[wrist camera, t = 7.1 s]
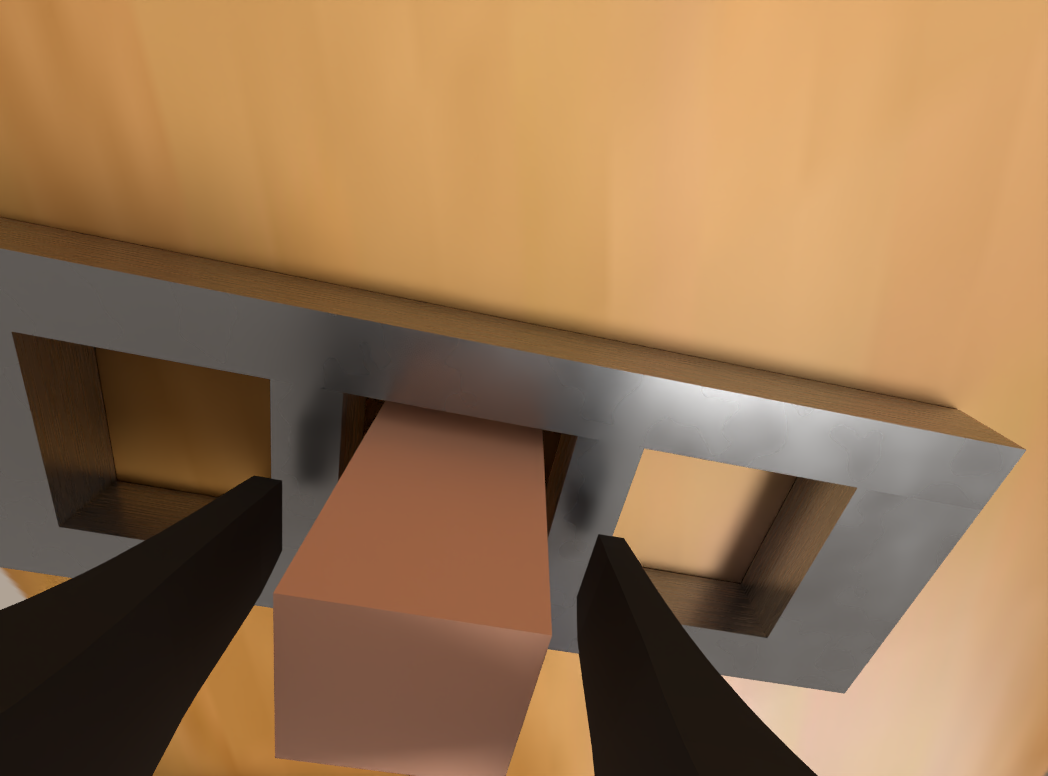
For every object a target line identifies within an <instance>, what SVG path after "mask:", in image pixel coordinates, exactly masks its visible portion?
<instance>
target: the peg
mask: <svg viewBox="0 0 1048 776" xmlns="http://www.w3.org/2000/svg"><path fill="white" fill-rule="evenodd" d="M273 622H274V701H275V758H281V759H289V760H296V761H304V762H312V763H320V764H328V765H336V766H344V767H351V768H359V769H367V770H375V771H383V772H391V773H398V774H406V775H414V776H506V773H507V770H508V767H509V764H510V761H511V758H512V755H513V752H514V749H515V746H516V743H517V740H518V737H519V734H520V731H521V728H522V725H523V722H524V719H525V716H526V713H527V710H528V707H529V704H530V701H531V698H532V695H533V692H534V689H535V686H536V683H537V680H538V677H539V674H540V671H541V668H542V664H543V661H544V658H545V655H546V652H547V649H548V646H549V643H550V640H551V637H552V623H551V601H550V580H549V559H548V537H547V516H546V494H545V473H544V452H543V430H542V429H537V428H532V427H526V426H521V425H515V424H510V423H505V422H499V421H494V420H488V419H483V418H477V417H472V416H467V415H461V414H456V413H450V412H445V411H440V410H434V409H429V408H423V407H418V406H412V405H407V404H402V403H396V402H391V401H385V402H384V404H383V406H382V407H381V409H380V411H379V413H378V414H377V416H376V418H375V419H374V421H373V423H372V425H371V426H370V428H369V430H368V431H367V433H366V435H365V436H364V438H363V440H362V442H361V443H360V445H359V447H358V448H357V450H356V452H355V454H354V455H353V457H352V459H351V460H350V462H349V464H348V466H347V467H346V469H345V471H344V472H343V474H342V476H341V478H340V479H339V481H338V483H337V484H336V486H335V488H334V490H333V491H332V493H331V495H330V496H329V498H328V500H327V502H326V503H325V505H324V507H323V508H322V510H321V512H320V514H319V515H318V517H317V519H316V520H315V522H314V524H313V526H312V527H311V529H310V531H309V532H308V534H307V536H306V538H305V539H304V541H303V543H302V544H301V546H300V548H299V550H298V551H297V553H296V555H295V556H294V558H293V560H292V562H291V563H290V565H289V567H288V568H287V570H286V572H285V574H284V575H283V577H282V579H281V580H280V582H279V584H278V586H277V587H276V589H275V591H274V592H273Z"/></svg>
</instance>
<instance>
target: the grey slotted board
mask: <svg viewBox="0 0 1048 776" xmlns="http://www.w3.org/2000/svg"><path fill="white" fill-rule="evenodd" d="M94 347H98V348H104V349H109V350H114V351H120V352H125V353H131V354H136V355H141V356H147V357H152V358H158V359H163V360H169V361H174V362H179V363H185V364H190V365H196V366H201V367H207V368H212V369H217V370H223V371H228V372H234V373H239V374H244V375H250V376H255V377H261V378H266V379H270V408H271V479H277V480H282V552H281V554H280V556H279V559H278V561H277V563H276V565H275V567H274V569H273V571H272V573H271V575H270V577H269V579H268V581H267V583H266V585H265V587H264V589H263V591H262V593H261V595H260V597H259V598H258V600H257V601H256V603H255V605H257V606H264V607H270V608H273V592H274V591H275V589H276V587H277V586H278V584H279V582H280V580H281V579H282V577H283V575H284V574H285V572H286V570H287V568H288V567H289V565H290V563H291V562H292V560H293V558H294V556H295V555H296V553H297V551H298V550H299V548H300V546H301V544H302V543H303V541H304V539H305V538H306V536H307V534H308V532H309V531H310V529H311V527H312V526H313V524H314V522H315V520H316V519H317V517H318V515H319V514H320V512H321V510H322V508H323V507H324V505H325V503H326V502H327V500H328V498H329V496H330V495H331V493H332V491H333V490H334V488H335V486H336V484H337V483H338V481H339V479H340V478H341V476H342V474H343V472H344V471H345V469H346V467H347V466H348V464H349V462H350V460H351V459H352V457H353V455H354V454H355V452H356V450H357V448H358V447H359V445H360V443H361V442H362V440H363V430H364V417H365V404H366V397H369V398H374V399H380V400H385V401H391V402H396V403H402V404H407V405H412V406H418V407H423V408H429V409H434V410H440V411H445V412H450V413H456V414H461V415H467V416H472V417H477V418H483V419H488V420H494V421H499V422H505V423H510V424H515V425H521V426H526V427H532V428H537V429H542V430H548V431H553V432H559V433H561V437H560V440H559V444H558V448H557V451H556V455H555V458H554V462H553V466H552V469H551V473H550V477H549V480H548V484H547V488H546V491H545V494H546V516H547V537H548V559H549V580H550V601H551V623H552V637H551V640H550V643H549V646H548V649H551V650H558V651H564V652H571V653H578V654H579V650H578V642H577V594H578V592H579V589H580V586H581V583H582V580H583V577H584V574H585V571H586V568H587V566H588V563H589V560H590V557H591V554H592V551H593V548H594V545H595V542H596V540H597V537H598V534H601V535H607V536H612V535H613V533H614V530H615V527H616V524H617V522H618V519H619V516H620V513H621V511H622V508H623V505H624V502H625V500H626V497H627V494H628V491H629V489H630V486H631V483H632V480H633V478H634V475H635V472H636V469H637V466H638V464H639V461H640V458H641V455H642V453H643V450H644V448H645V449H651V450H656V451H662V452H667V453H673V454H678V455H683V456H689V457H694V458H700V459H705V460H710V461H716V462H721V463H727V464H732V465H738V466H743V467H748V468H754V469H759V470H765V471H770V472H775V473H781V474H786V475H792V476H797V479H796V481H795V483H794V485H793V487H792V489H791V490H790V492H789V494H788V496H787V498H786V500H785V502H784V504H783V505H782V507H781V509H780V511H779V513H778V515H777V517H776V519H775V521H774V522H773V524H772V526H771V528H770V530H769V532H768V534H767V536H766V537H765V539H764V541H763V543H762V545H761V547H760V549H759V551H758V553H757V554H756V556H755V558H754V560H753V562H752V564H751V566H750V568H749V569H748V571H747V573H746V575H745V577H744V579H743V581H742V583H741V584H738V583H732V582H726V581H720V580H714V579H708V578H702V577H696V576H690V575H684V574H678V573H672V572H666V571H659V570H653V569H647V568H643V569H644V570H645V572H646V573H647V575H648V576H649V578H650V580H651V581H652V583H653V584H654V586H655V587H656V589H657V590H658V592H659V593H660V595H661V596H662V598H663V599H664V601H665V602H666V604H667V605H668V606H669V608H670V609H671V611H672V612H673V614H674V615H675V616H676V618H677V619H678V621H679V622H680V624H681V625H682V626H683V628H684V629H685V630H686V632H687V633H688V634H689V636H690V637H691V638H692V640H693V641H694V642H695V643H696V645H697V646H698V647H699V649H700V650H701V651H702V653H703V654H704V655H705V656H706V658H707V659H708V660H709V662H710V663H711V664H712V665H713V666H714V668H715V669H716V670H717V671H718V672H719V674H720V675H725V676H731V677H738V678H745V679H751V680H758V681H765V682H772V683H778V684H785V685H792V686H798V687H805V688H812V689H818V690H825V691H832V692H838V693H845V692H846V691H847V690H848V688H849V687H850V685H851V684H852V683H853V681H854V680H855V679H856V677H857V676H858V675H859V673H860V672H861V671H862V669H863V668H864V667H865V665H866V664H867V663H868V661H869V660H870V659H871V657H872V656H873V655H874V653H875V652H876V651H877V649H878V648H879V647H880V645H881V644H882V643H883V641H884V640H885V639H886V637H887V636H888V635H889V633H890V632H891V631H892V629H893V628H894V627H895V625H896V624H897V623H898V621H899V620H900V619H901V617H902V616H903V615H904V613H905V612H906V611H907V609H908V608H909V606H910V605H911V604H912V602H913V601H914V600H915V598H916V597H917V596H918V594H919V593H920V592H921V590H922V589H923V588H924V586H925V585H926V584H927V582H928V581H929V580H930V578H931V577H932V576H933V574H934V573H935V572H936V570H937V569H938V568H939V566H940V565H941V564H942V562H943V561H944V560H945V558H946V557H947V556H948V554H949V553H950V552H951V550H952V549H953V548H954V546H955V545H956V544H957V542H958V541H959V540H960V538H961V537H962V536H963V534H964V533H965V532H966V530H967V529H968V528H969V526H970V525H971V523H972V522H973V521H974V519H975V518H976V517H977V515H978V514H979V513H980V511H981V510H982V509H983V507H984V506H985V505H986V503H987V502H988V501H989V499H990V498H991V497H992V495H993V494H994V493H995V491H996V490H997V489H998V487H999V486H1000V485H1001V483H1002V482H1003V481H1004V479H1005V478H1006V477H1007V475H1008V474H1009V473H1010V471H1011V470H1012V469H1013V467H1014V466H1015V465H1016V463H1017V462H1018V461H1019V459H1020V458H1021V457H1022V455H1023V454H1024V453H1025V451H1026V449H1024V448H1022V447H1021V446H1019V445H1017V444H1016V443H1014V442H1012V441H1011V440H1009V439H1007V438H1006V437H1004V436H1002V435H1001V434H999V433H997V432H996V431H994V430H992V429H990V428H989V427H987V426H985V425H984V424H982V423H980V422H979V421H977V420H975V419H974V418H972V417H970V416H969V415H967V414H965V413H964V412H962V411H960V410H957V409H952V408H947V407H942V406H937V405H932V404H927V403H922V402H917V401H912V400H907V399H902V398H897V397H892V396H887V395H882V394H877V393H872V392H867V391H862V390H857V389H853V388H848V387H843V386H838V385H833V384H828V383H823V382H818V381H813V380H808V379H803V378H798V377H793V376H788V375H783V374H778V373H773V372H768V371H763V370H758V369H753V368H748V367H743V366H738V365H733V364H728V363H723V362H718V361H713V360H708V359H703V358H698V357H693V356H688V355H683V354H678V353H673V352H668V351H664V350H659V349H654V348H649V347H644V346H639V345H634V344H629V343H624V342H619V341H614V340H609V339H604V338H599V337H594V336H589V335H584V334H579V333H574V332H569V331H564V330H559V329H554V328H549V327H544V326H539V325H534V324H529V323H524V322H519V321H514V320H509V319H504V318H499V317H494V316H489V315H484V314H479V313H475V312H470V311H465V310H460V309H455V308H450V307H445V306H440V305H435V304H430V303H425V302H420V301H415V300H410V299H405V298H400V297H395V296H390V295H385V294H380V293H375V292H370V291H365V290H360V289H355V288H350V287H345V286H340V285H335V284H330V283H325V282H320V281H315V280H310V279H305V278H300V277H295V276H290V275H285V274H281V273H276V272H271V271H266V270H261V269H256V268H251V267H246V266H241V265H236V264H231V263H226V262H221V261H216V260H211V259H206V258H201V257H196V256H191V255H186V254H181V253H176V252H171V251H166V250H161V249H156V248H151V247H146V246H141V245H136V244H131V243H126V242H121V241H116V240H111V239H106V238H101V237H96V236H92V235H87V234H82V233H77V232H72V231H67V230H62V229H57V228H52V227H47V226H42V225H37V224H32V223H27V222H22V221H17V220H12V219H7V218H2V217H0V567H3V568H10V569H16V570H23V571H30V572H36V573H43V574H50V575H56V576H63V577H70V578H74V577H76V576H78V575H80V574H82V573H84V572H86V571H88V570H90V569H92V568H94V567H96V566H98V565H100V564H102V563H104V562H106V561H108V560H110V559H112V558H114V557H116V556H117V555H119V554H121V553H123V552H125V551H127V550H128V549H130V548H132V547H134V546H136V545H138V544H139V543H141V542H143V541H145V540H147V539H149V538H150V537H152V536H154V535H156V534H158V533H160V532H161V531H163V530H165V529H166V528H168V527H170V526H172V525H173V524H175V523H177V522H178V521H180V520H182V519H183V518H185V517H187V516H188V515H190V514H192V513H194V512H195V511H197V510H198V509H200V508H202V507H203V506H205V505H207V504H208V503H210V502H212V501H213V500H215V499H216V498H217V497H211V496H205V495H199V494H193V493H187V492H181V491H175V490H169V489H163V488H157V487H151V486H145V485H139V484H133V483H127V482H120V481H117V479H116V473H115V467H114V461H113V455H112V450H111V444H110V438H109V432H108V426H107V421H106V415H105V409H104V403H103V397H102V391H101V386H100V380H99V374H98V368H97V362H96V357H95V351H94Z"/></svg>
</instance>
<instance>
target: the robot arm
mask: <svg viewBox="0 0 1048 776" xmlns="http://www.w3.org/2000/svg"><path fill="white" fill-rule="evenodd" d="M281 552H282V480H277V479H271V478H265V477H259V476H253V477H251V478H249V479H248V480H246V481H244V482H243V483H241V484H239V485H238V486H236V487H234V488H233V489H231V490H230V491H228V492H226V493H225V494H223V495H221V496H220V497H218V498H216V499H215V500H213V501H212V502H210V503H208V504H207V505H205V506H203V507H202V508H200V509H198V510H197V511H195V512H194V513H192V514H190V515H188V516H187V517H185V518H183V519H182V520H180V521H178V522H177V523H175V524H173V525H172V526H170V527H168V528H166V529H165V530H163V531H161V532H160V533H158V534H156V535H154V536H152V537H150V538H149V539H147V540H145V541H143V542H141V543H139V544H138V545H136V546H134V547H132V548H130V549H128V550H127V551H125V552H123V553H121V554H119V555H117V556H116V557H114V558H112V559H110V560H108V561H106V562H104V563H102V564H100V565H98V566H96V567H94V568H92V569H90V570H88V571H86V572H84V573H82V574H80V575H78V576H76V577H74V578H72V579H70V580H68V581H65V582H63V583H61V584H59V585H57V586H55V587H52V588H50V589H48V590H46V591H44V592H42V593H40V594H37V595H35V596H33V597H31V598H28V599H26V600H24V601H21V602H19V603H16V604H14V605H12V606H9V607H7V608H4V609H2V610H0V776H152V775H153V773H154V771H155V769H156V767H157V765H158V763H159V762H160V760H161V758H162V756H163V754H164V752H165V750H166V748H167V746H168V745H169V743H170V741H171V739H172V737H173V735H174V733H175V731H176V730H177V728H178V726H179V724H180V722H181V720H182V718H183V717H184V715H185V713H186V712H187V710H188V708H189V706H190V705H191V703H192V701H193V700H194V698H195V696H196V695H197V693H198V692H199V690H200V688H201V687H202V685H203V684H204V682H205V681H206V679H207V678H208V676H209V675H210V673H211V671H212V670H213V668H214V667H215V665H216V664H217V662H218V661H219V659H220V658H221V656H222V654H223V653H224V651H225V650H226V648H227V647H228V645H229V644H230V642H231V641H232V639H233V637H234V636H235V634H236V633H237V631H238V630H239V628H240V627H241V625H242V623H243V622H244V620H245V619H246V617H247V616H248V614H249V612H250V611H251V609H252V608H253V606H254V605H255V603H256V601H257V600H258V598H259V597H260V595H261V593H262V591H263V589H264V587H265V585H266V583H267V581H268V579H269V577H270V575H271V573H272V571H273V569H274V567H275V565H276V563H277V561H278V559H279V556H280V554H281ZM577 642H578V650H579V657H580V665H581V672H582V680H583V687H584V694H585V701H586V709H587V716H588V723H589V730H590V737H591V744H592V753H593V763H594V774H595V776H817V775H816V774H815V773H814V772H813V771H812V770H811V769H810V768H809V767H808V766H807V765H806V764H805V763H804V762H803V761H802V760H801V759H800V758H798V757H797V756H796V755H795V754H794V753H793V752H792V751H791V750H790V749H789V748H788V747H787V746H786V745H785V744H784V743H783V742H782V741H781V740H780V739H779V738H778V737H777V736H776V735H775V734H774V733H773V732H772V731H771V730H770V729H769V728H768V727H767V726H766V725H765V724H764V723H763V722H762V720H761V719H760V718H759V717H758V716H757V715H756V714H755V713H754V712H753V711H752V710H751V709H750V708H749V707H748V706H747V704H746V703H745V702H744V701H743V700H742V699H741V698H740V696H739V695H738V694H737V693H736V692H735V691H734V690H733V689H732V687H731V686H730V685H729V684H728V683H727V682H726V681H725V679H724V678H723V677H722V676H721V675H720V674H719V672H718V671H717V670H716V669H715V668H714V666H713V665H712V664H711V663H710V662H709V660H708V659H707V658H706V656H705V655H704V654H703V653H702V651H701V650H700V649H699V647H698V646H697V645H696V643H695V642H694V641H693V640H692V638H691V637H690V636H689V634H688V633H687V632H686V630H685V629H684V628H683V626H682V625H681V624H680V622H679V621H678V619H677V618H676V616H675V615H674V614H673V612H672V611H671V609H670V608H669V606H668V605H667V604H666V602H665V601H664V599H663V598H662V596H661V595H660V593H659V592H658V590H657V589H656V587H655V586H654V584H653V583H652V581H651V580H650V578H649V576H648V575H647V573H646V572H645V570H644V569H643V567H642V566H641V564H640V562H639V561H638V559H637V558H636V556H635V555H634V553H633V552H632V550H631V548H630V547H629V545H628V544H627V542H626V541H625V539H624V538H619V537H613V536H607V535H601V534H598V537H597V540H596V542H595V545H594V548H593V551H592V554H591V557H590V560H589V563H588V566H587V568H586V571H585V574H584V577H583V580H582V583H581V586H580V589H579V592H578V594H577Z"/></svg>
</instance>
